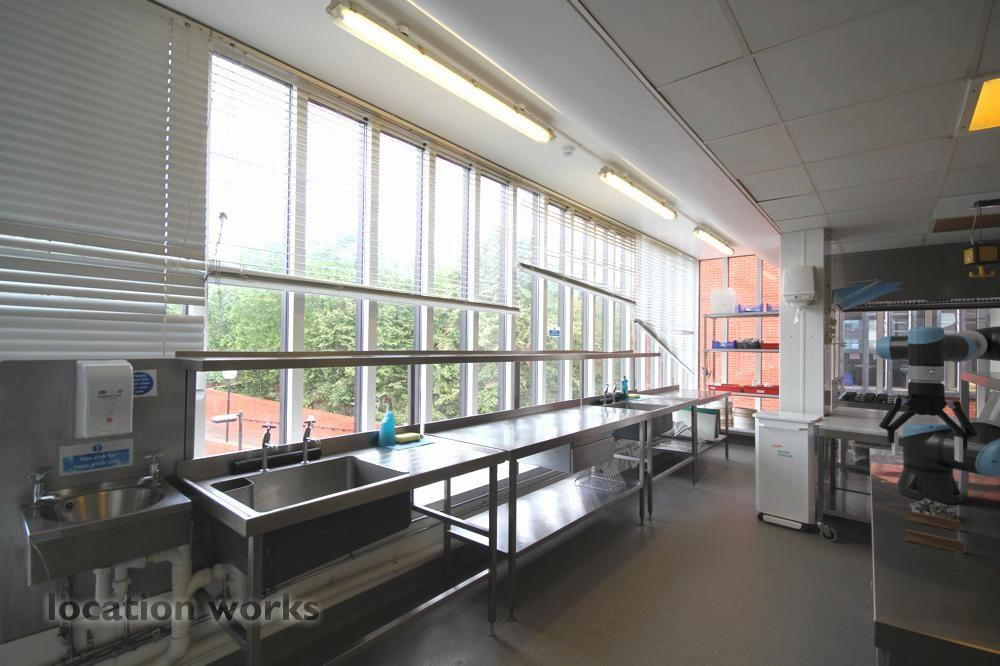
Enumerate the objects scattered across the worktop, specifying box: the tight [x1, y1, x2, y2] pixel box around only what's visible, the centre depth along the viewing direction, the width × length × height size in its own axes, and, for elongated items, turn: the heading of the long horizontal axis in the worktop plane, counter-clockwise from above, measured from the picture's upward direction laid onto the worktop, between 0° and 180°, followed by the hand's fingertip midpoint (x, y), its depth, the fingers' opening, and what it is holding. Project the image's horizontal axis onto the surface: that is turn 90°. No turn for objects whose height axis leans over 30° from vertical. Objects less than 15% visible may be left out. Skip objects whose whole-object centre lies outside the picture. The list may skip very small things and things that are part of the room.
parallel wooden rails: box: [904, 510, 964, 554], centre depth 115 cm, size 19×10×2 cm, turn 137°
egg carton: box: [909, 498, 957, 519], centre depth 128 cm, size 11×8×4 cm
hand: (926, 458), depth 127 cm, fingers open, 13 cm apart
